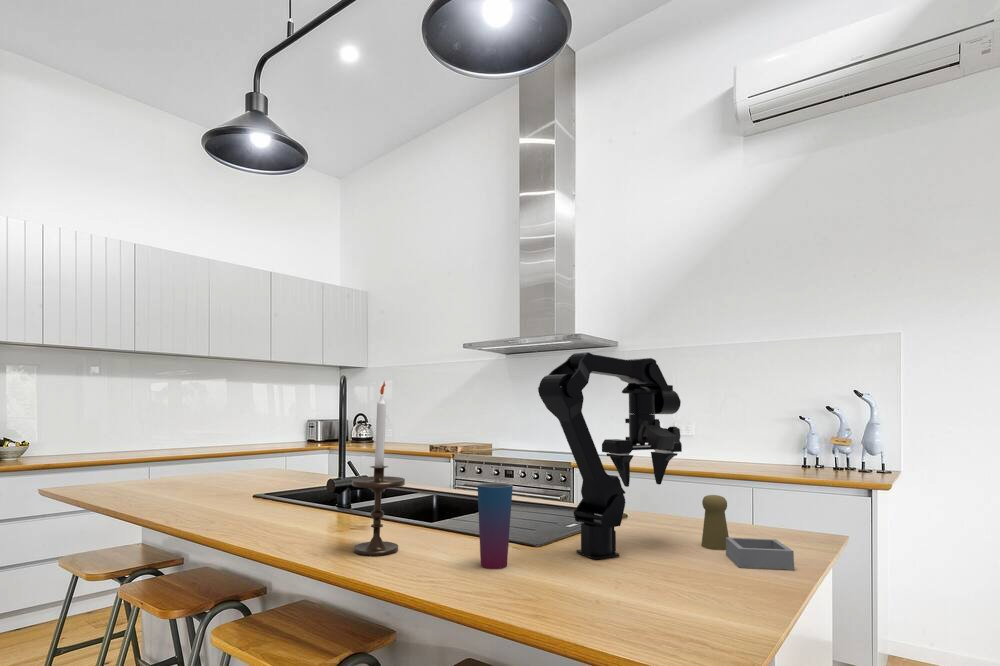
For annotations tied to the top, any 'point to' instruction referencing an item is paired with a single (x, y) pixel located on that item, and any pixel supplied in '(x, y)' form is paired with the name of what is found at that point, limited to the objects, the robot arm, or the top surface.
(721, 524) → the olive pawn
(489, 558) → the cup
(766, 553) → the open box
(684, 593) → the top surface
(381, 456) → the candlestick
